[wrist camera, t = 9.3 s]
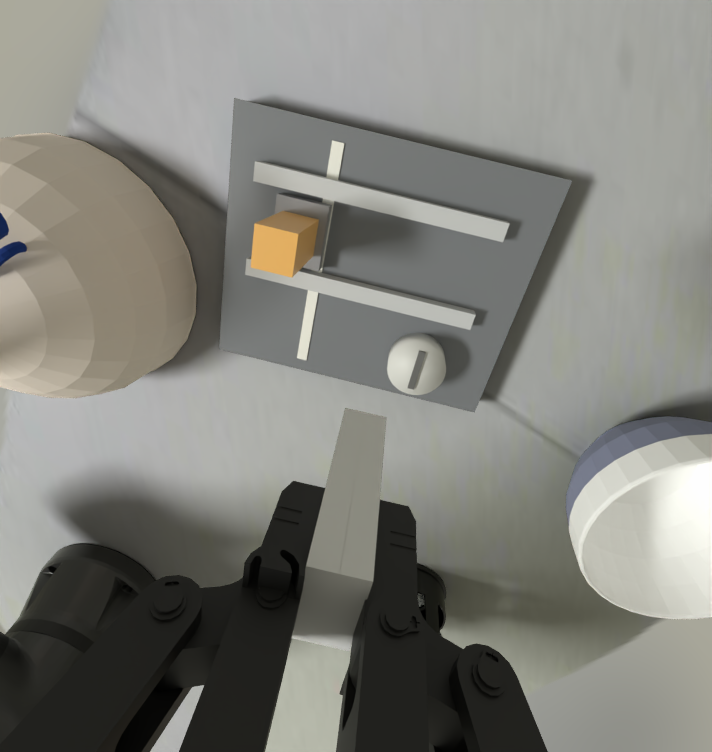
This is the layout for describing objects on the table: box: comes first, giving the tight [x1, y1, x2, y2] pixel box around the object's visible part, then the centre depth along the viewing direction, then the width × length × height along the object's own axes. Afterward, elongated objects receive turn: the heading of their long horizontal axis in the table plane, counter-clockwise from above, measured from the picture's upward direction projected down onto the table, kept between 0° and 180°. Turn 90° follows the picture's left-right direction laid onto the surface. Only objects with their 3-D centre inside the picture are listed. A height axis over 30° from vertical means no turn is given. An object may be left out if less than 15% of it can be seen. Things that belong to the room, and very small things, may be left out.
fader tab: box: [251, 193, 332, 278], centre depth 27 cm, size 4×4×7 cm
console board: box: [219, 98, 572, 412], centre depth 31 cm, size 22×18×4 cm
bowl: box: [566, 416, 712, 619], centre depth 34 cm, size 16×16×10 cm
